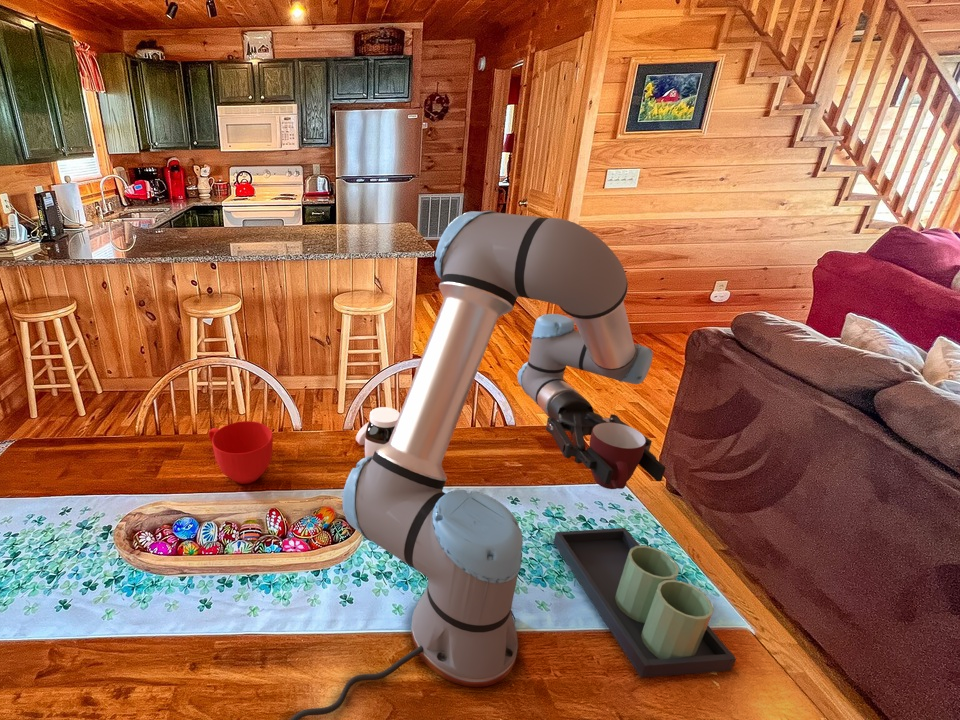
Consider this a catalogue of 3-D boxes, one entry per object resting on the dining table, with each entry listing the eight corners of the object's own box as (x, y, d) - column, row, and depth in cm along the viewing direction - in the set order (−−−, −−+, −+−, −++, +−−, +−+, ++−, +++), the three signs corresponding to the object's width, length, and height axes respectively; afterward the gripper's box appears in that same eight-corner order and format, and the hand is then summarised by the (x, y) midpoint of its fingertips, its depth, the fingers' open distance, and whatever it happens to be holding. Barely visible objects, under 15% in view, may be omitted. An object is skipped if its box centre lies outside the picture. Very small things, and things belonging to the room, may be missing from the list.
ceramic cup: (233, 446, 124) (229, 410, 120) (286, 469, 115) (284, 432, 111) (192, 473, 114) (186, 435, 110) (247, 501, 105) (243, 461, 101)
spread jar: (392, 474, 113) (394, 429, 108) (345, 461, 117) (345, 418, 112) (407, 445, 122) (410, 403, 118) (364, 435, 127) (364, 394, 122)
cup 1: (630, 627, 77) (646, 580, 73) (606, 593, 83) (619, 546, 79) (670, 625, 77) (689, 577, 73) (644, 590, 83) (659, 544, 79)
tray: (640, 678, 70) (645, 665, 69) (553, 542, 93) (555, 531, 92) (730, 671, 71) (736, 658, 70) (621, 538, 94) (625, 527, 93)
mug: (648, 508, 84) (662, 459, 80) (596, 506, 85) (607, 456, 81) (622, 469, 93) (634, 423, 89) (576, 467, 94) (585, 421, 90)
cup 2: (659, 670, 71) (678, 620, 67) (631, 629, 77) (647, 581, 73) (703, 666, 71) (725, 617, 67) (671, 626, 77) (690, 578, 73)
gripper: (610, 419, 105) (690, 490, 84) (512, 424, 104) (568, 498, 83) (618, 387, 102) (703, 453, 81) (517, 392, 101) (577, 460, 80)
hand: (635, 475), depth 82 cm, fingers closed on mug, 8 cm apart
